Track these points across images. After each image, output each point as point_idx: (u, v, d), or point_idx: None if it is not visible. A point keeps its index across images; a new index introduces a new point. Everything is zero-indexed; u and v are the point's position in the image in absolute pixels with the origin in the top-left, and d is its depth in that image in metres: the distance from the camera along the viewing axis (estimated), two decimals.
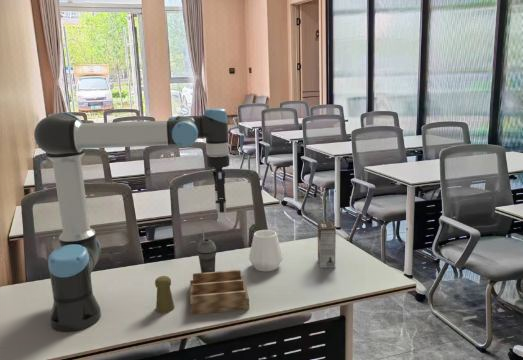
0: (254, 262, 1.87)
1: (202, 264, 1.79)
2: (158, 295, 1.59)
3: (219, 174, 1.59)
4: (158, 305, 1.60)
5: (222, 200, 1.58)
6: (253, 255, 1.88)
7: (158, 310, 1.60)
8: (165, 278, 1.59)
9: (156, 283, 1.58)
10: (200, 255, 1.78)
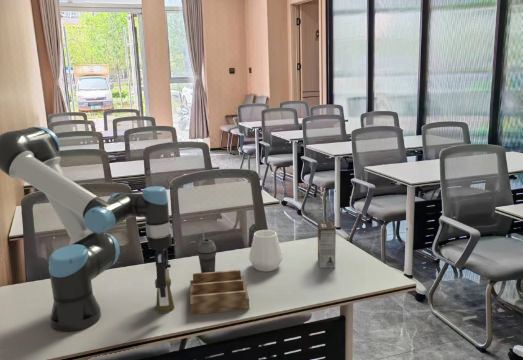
0: (254, 262, 1.87)
1: (202, 264, 1.79)
2: (158, 295, 1.59)
3: (159, 258, 1.51)
4: (158, 305, 1.60)
5: (162, 286, 1.49)
6: (253, 255, 1.88)
7: (158, 310, 1.60)
8: None
9: (156, 283, 1.58)
10: (200, 255, 1.78)
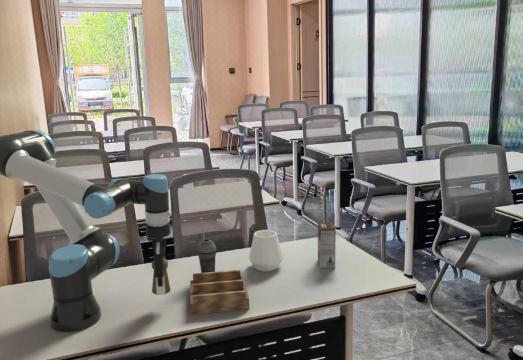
0: (254, 262, 1.87)
1: (202, 264, 1.79)
2: (154, 277, 1.58)
3: (157, 250, 1.51)
4: (154, 287, 1.58)
5: (160, 275, 1.53)
6: (253, 255, 1.88)
7: (154, 292, 1.59)
8: None
9: (153, 265, 1.57)
10: (200, 255, 1.78)
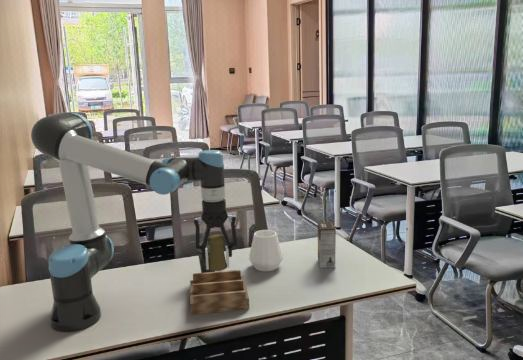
0: (254, 262, 1.87)
1: (202, 264, 1.79)
2: None
3: None
4: None
5: None
6: (253, 255, 1.88)
7: None
8: (213, 237, 1.57)
9: None
10: (200, 255, 1.78)
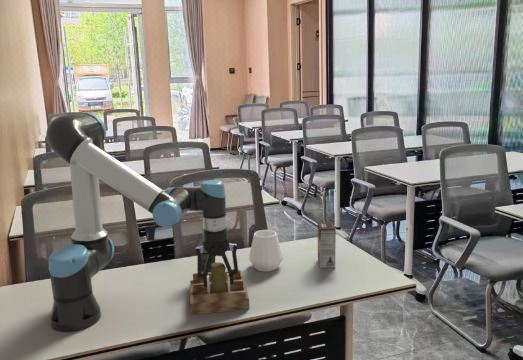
0: (254, 262, 1.87)
1: (202, 264, 1.79)
2: None
3: None
4: None
5: None
6: (253, 255, 1.88)
7: None
8: (214, 265, 1.59)
9: None
10: None
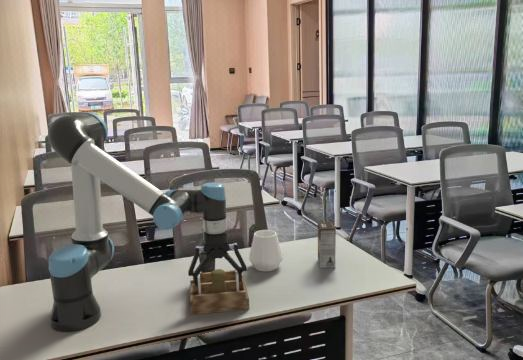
0: (254, 262, 1.87)
1: None
2: None
3: (195, 248, 1.58)
4: None
5: (188, 272, 1.59)
6: (253, 255, 1.88)
7: None
8: (215, 272, 1.60)
9: None
10: (200, 255, 1.78)
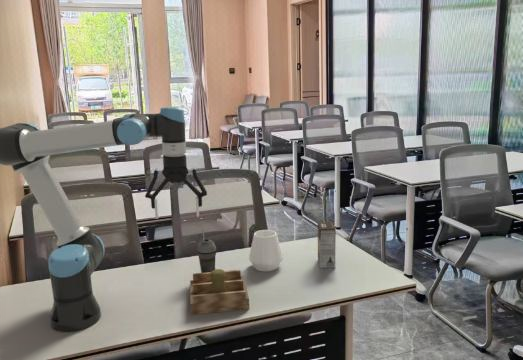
0: (254, 262, 1.87)
1: (202, 264, 1.79)
2: None
3: None
4: None
5: (145, 195, 1.61)
6: (253, 255, 1.88)
7: None
8: (215, 272, 1.60)
9: None
10: (200, 255, 1.78)
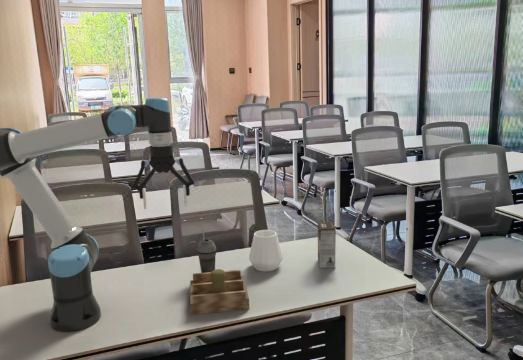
0: (254, 262, 1.87)
1: (202, 264, 1.79)
2: None
3: None
4: None
5: None
6: (253, 255, 1.88)
7: None
8: (215, 272, 1.60)
9: None
10: (200, 255, 1.78)
